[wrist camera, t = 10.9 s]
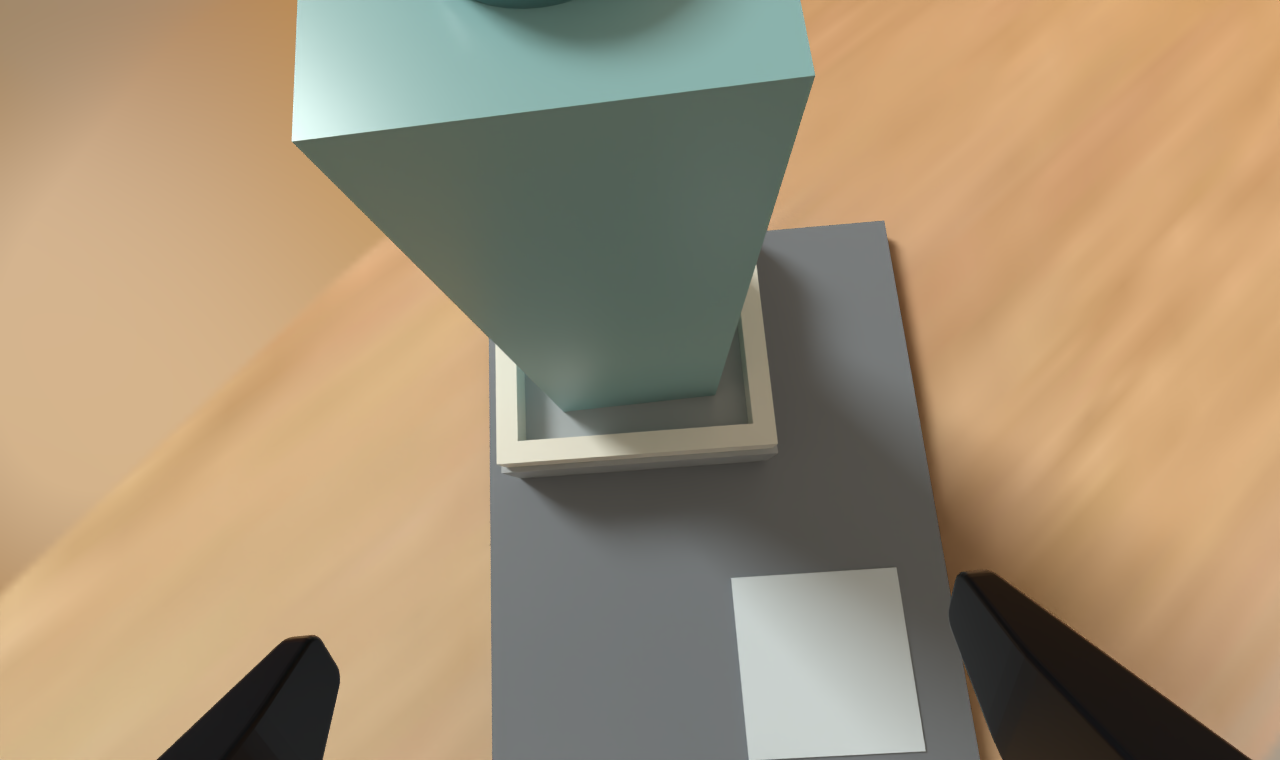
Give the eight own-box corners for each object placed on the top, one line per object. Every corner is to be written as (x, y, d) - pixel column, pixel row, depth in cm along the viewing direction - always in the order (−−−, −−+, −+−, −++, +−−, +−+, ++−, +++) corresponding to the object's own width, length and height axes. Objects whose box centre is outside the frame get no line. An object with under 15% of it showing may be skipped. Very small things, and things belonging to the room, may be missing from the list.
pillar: (715, 395, 18) (840, -7, 4) (563, 412, 18) (225, 72, 4) (696, 254, 19) (749, -421, 5) (553, 271, 19) (254, -347, 5)
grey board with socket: (974, 794, 18) (1059, 871, 14) (501, 817, 18) (453, 898, 14) (876, 231, 22) (920, 167, 18) (494, 264, 22) (456, 210, 18)
